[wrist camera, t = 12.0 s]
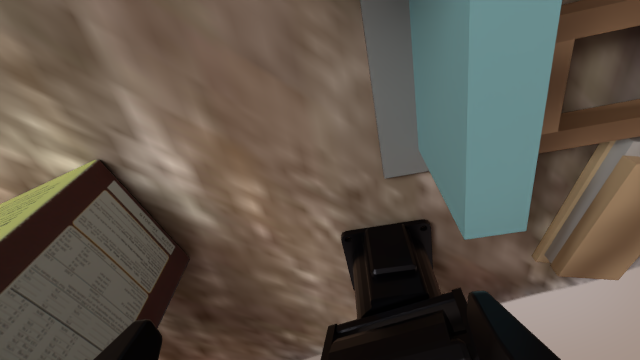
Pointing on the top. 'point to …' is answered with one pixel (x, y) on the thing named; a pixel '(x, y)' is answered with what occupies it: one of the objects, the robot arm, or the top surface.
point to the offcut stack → (598, 217)
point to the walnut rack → (577, 126)
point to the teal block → (483, 104)
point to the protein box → (80, 267)
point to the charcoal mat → (393, 84)
